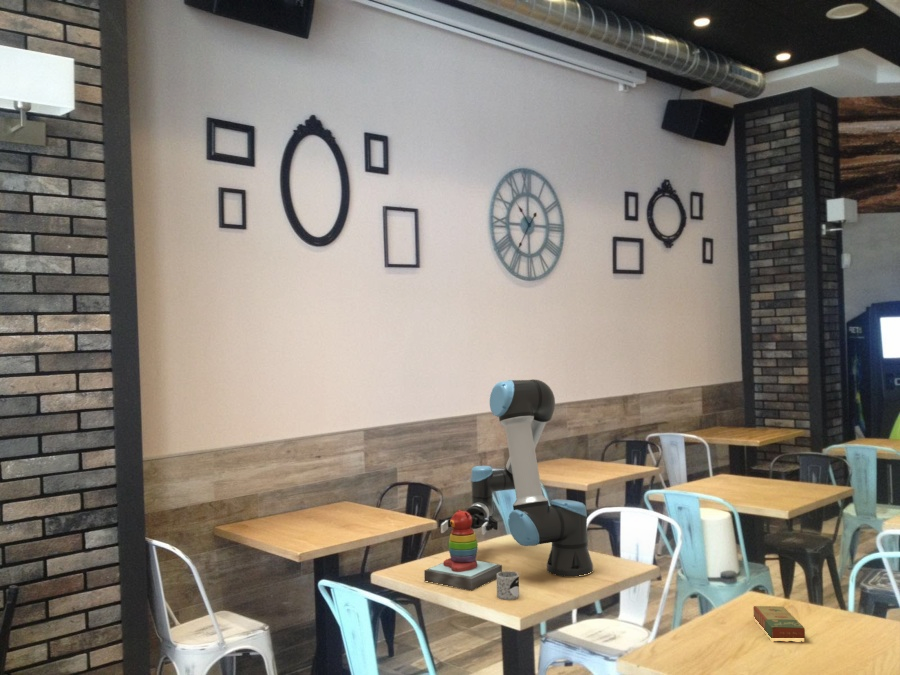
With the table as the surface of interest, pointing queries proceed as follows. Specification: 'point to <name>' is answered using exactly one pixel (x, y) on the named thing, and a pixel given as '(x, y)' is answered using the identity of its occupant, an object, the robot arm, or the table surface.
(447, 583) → the plinth
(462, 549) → the stacking bear
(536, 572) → the table surface
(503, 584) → the mug
